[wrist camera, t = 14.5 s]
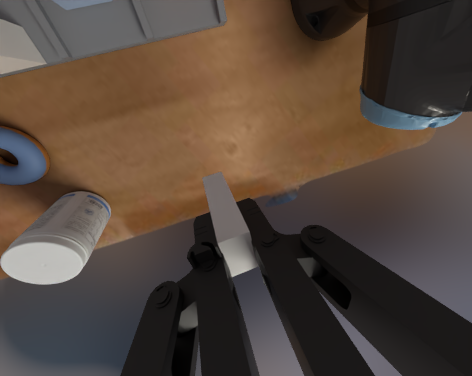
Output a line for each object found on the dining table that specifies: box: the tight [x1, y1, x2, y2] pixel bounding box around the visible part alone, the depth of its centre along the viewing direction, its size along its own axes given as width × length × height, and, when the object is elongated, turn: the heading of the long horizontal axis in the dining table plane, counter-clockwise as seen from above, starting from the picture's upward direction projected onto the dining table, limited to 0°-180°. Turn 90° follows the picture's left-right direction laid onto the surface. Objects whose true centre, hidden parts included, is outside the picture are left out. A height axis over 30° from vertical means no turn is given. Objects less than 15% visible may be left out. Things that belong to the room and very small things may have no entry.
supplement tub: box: [0, 191, 111, 284], centre depth 32 cm, size 10×10×15 cm
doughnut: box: [0, 126, 50, 185], centre depth 29 cm, size 10×10×5 cm
